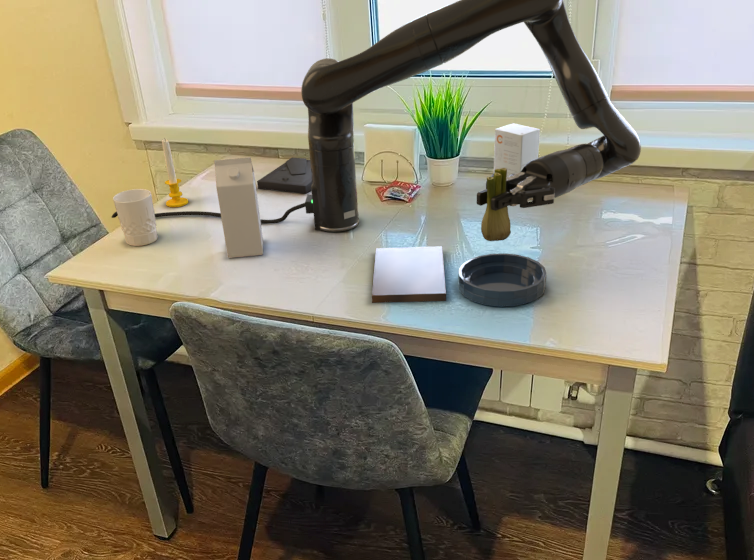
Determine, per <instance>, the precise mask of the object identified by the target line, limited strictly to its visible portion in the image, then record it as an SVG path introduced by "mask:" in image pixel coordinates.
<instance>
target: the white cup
mask: <svg viewBox="0 0 754 560" xmlns="http://www.w3.org/2000/svg"><path fill="white" fill-rule="evenodd" d="M112 201H113V204H114V207H115V210H116V211H115V212H117V214H118V216H117V218H118V221H119V224H120V228H121V230H122V233H123V236H124V240H125V243H126V244H127V245H129V246H133V247H143V246H146V245H147V246H148V245H150V244H152V243H154V242H156V241H157V240H158V238H159V237H158V231H157V222H156V219H157V218H156V217H155V214H156V213H155V207H154V206H155V205H154V202H153V196H152V191H150V190H149V189H145V188H133V189H127V190H123V191H120V192H117V193H116V194H115V195H113V197H112Z"/></svg>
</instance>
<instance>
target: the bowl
mask: <svg viewBox="0 0 754 560" xmlns="http://www.w3.org/2000/svg"><path fill="white" fill-rule="evenodd" d="M457 272H458V274H457V275H458V279H457V287H458V291H459V292H460V294H461V295H462V296H463V297H464V298H466V299H468V300H470V301H471V302H474V303H477V304H480V305H484V306H491V307H517V306H521V305H526V304H528V303H531V302H534V301H536V300H538V299H539V298H540V297H542V296H543V295H544V293H545V290H546V289H547V288H546V286H547V276H548V275H547V274H548V273H547V270H546V267H545V266H544V265H543V264H542V263H540V261H538V260H535V259H533V258H531V257H529V256H524V255H520V254H514V253H488V254H482V255H478V256H475V257H473V258H470V259H467V260H466V261H465V262H463V263H462V264H461V265H460V266H459V269H458V271H457Z"/></svg>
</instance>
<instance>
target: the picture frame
mask: <svg viewBox="0 0 754 560" xmlns="http://www.w3.org/2000/svg"><path fill="white" fill-rule="evenodd" d="M256 183H257V184H256V186H257V189H258V190H267V191H275V192H286V193H296V194H304V195H306V194H308V193H309V192H311V186H312V174H311V163H310V159H307V158H303V157H291V158H289V159H287V160H286V161H285V162H284V163H282V164H281V165H279V166H278V167H276V168H275V169H273V170H272V171H270V172H269V173H267V174H266V175H264V176H263V177H261V178H260V179H258V180H256Z"/></svg>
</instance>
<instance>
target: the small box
mask: <svg viewBox="0 0 754 560" xmlns="http://www.w3.org/2000/svg"><path fill="white" fill-rule="evenodd" d="M540 134H541V129H540V128H537V127H532V126H528V125H523V124H520V123H519V124H518V123H514V122H512V123H509V124H506V125H503V126H500V127H497V128H495V129H494V147H493V148H494V151H493V153H494V154H493V173H494V172H495V169H501V168H506V169H507V177H509V176H510V175H511V174H515V173H519V172H521V171H522V169H523V168H524V166H525V165H526V164H527V163H528V162H530V161H532V160H534V159H537V158H539V154H540V153H539V152H540V151H539V150H540V137H541V135H540Z"/></svg>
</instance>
